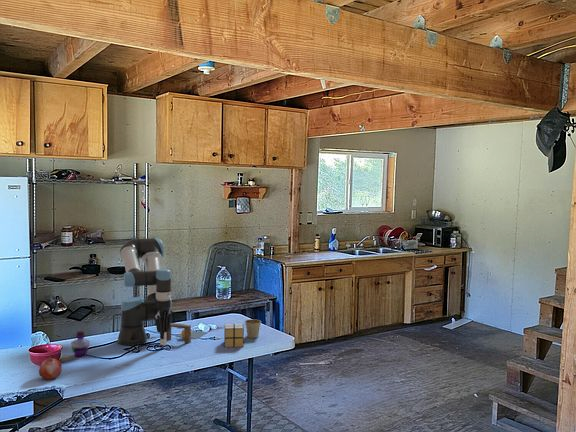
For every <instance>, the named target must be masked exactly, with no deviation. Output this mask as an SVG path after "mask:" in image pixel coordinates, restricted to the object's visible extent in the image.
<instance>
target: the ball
mask: <svg viewBox="0 0 576 432" xmlns="http://www.w3.org/2000/svg"><path fill="white" fill-rule="evenodd" d="M181 333H182V336H183V337H182V338H183V339H184V338H185V329H184V328H182V331H181ZM191 334H192V332H191Z"/></svg>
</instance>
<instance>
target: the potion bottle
mask: <svg viewBox="0 0 576 432" xmlns="http://www.w3.org/2000/svg"><path fill="white" fill-rule="evenodd" d="M85 337H86V333H85V331H83V330H78V331H77V332H76V334H75V338H76V339H75V340H73V341H71V343H70V344H71V349H72V352H73V354H74V357H75V356H76V358H83V357H82V356H84V357H86V356H87V355H88V349H89V346H90V344H91V343H90V342H91V340H89V339H87V338H85ZM85 355H86V356H85Z"/></svg>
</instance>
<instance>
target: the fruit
mask: <svg viewBox="0 0 576 432" xmlns="http://www.w3.org/2000/svg"><path fill="white" fill-rule="evenodd" d="M62 366H63V365H62V363H61V361H60V360H58V359H57V358H52V357H51V356H50V355H48V358H47V359H45V360H43V361H42V362H40V364H39V369H38V374H39V376H40V377H41V378H43V379H44V380H47V381H48V380H52V379H55V378H58V377H59V376H60V375H61V373H62V371H63V370H62V369H63V367H62Z"/></svg>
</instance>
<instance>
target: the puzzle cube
mask: <svg viewBox="0 0 576 432" xmlns="http://www.w3.org/2000/svg"><path fill="white" fill-rule="evenodd" d="M244 328H245V327H244V323H225V324H224V335H223V336H224V339H223V340H224V343H223V344H224V347H225V348H244V345H245V344H244V339H245V337H244V336H245V335H244V334H245V333H244V331H245V330H244Z"/></svg>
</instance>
